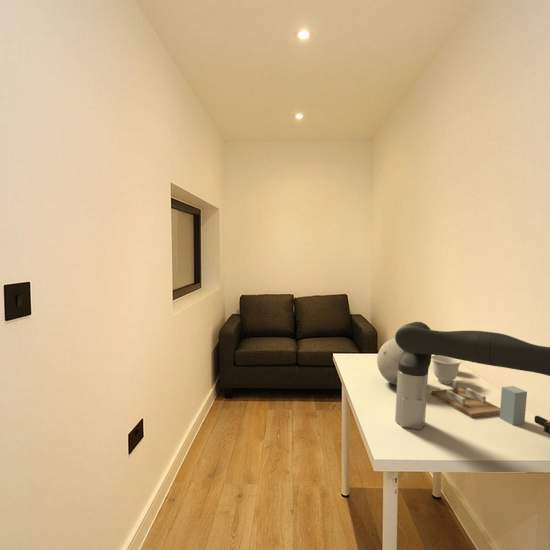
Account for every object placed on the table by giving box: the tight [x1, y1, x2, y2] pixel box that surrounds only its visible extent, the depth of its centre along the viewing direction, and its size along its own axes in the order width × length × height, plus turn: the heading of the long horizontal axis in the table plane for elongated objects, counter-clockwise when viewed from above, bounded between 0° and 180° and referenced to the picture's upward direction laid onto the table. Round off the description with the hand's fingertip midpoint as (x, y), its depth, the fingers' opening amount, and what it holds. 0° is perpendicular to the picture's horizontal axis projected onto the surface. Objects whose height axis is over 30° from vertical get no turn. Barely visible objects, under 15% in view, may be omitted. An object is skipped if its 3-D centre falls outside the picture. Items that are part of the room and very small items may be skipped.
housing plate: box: [430, 380, 500, 419], centre depth 133 cm, size 20×14×6 cm
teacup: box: [431, 355, 462, 385], centre depth 156 cm, size 12×15×10 cm
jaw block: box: [499, 385, 528, 426], centre depth 120 cm, size 5×5×11 cm
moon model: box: [376, 337, 403, 386], centre depth 149 cm, size 20×20×20 cm
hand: (545, 417), depth 109 cm, fingers open, 8 cm apart
